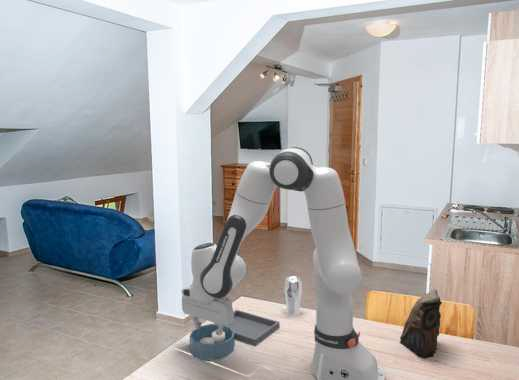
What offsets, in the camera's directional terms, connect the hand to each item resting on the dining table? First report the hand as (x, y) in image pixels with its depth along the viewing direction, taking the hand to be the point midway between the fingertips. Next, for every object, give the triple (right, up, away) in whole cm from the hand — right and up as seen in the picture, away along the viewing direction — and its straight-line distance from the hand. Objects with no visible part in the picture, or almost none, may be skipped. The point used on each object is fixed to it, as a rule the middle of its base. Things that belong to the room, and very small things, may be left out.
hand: (208, 330), depth 143 cm
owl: (+72, -7, +4) cm, 72 cm away
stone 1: (-1, -7, +1) cm, 7 cm away
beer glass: (+31, -3, +30) cm, 43 cm away
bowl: (+1, -7, +3) cm, 8 cm away
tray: (+12, -5, +16) cm, 20 cm away
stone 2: (+3, -6, +6) cm, 9 cm away
